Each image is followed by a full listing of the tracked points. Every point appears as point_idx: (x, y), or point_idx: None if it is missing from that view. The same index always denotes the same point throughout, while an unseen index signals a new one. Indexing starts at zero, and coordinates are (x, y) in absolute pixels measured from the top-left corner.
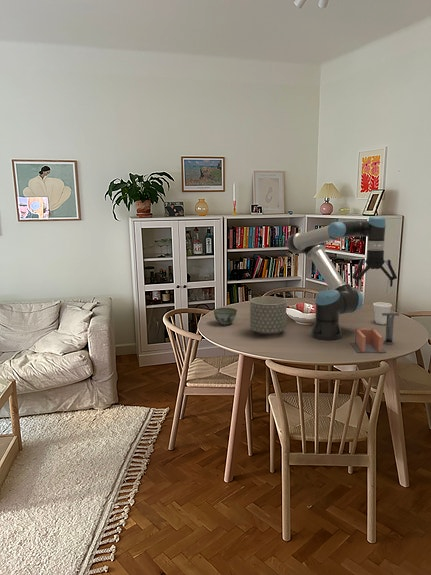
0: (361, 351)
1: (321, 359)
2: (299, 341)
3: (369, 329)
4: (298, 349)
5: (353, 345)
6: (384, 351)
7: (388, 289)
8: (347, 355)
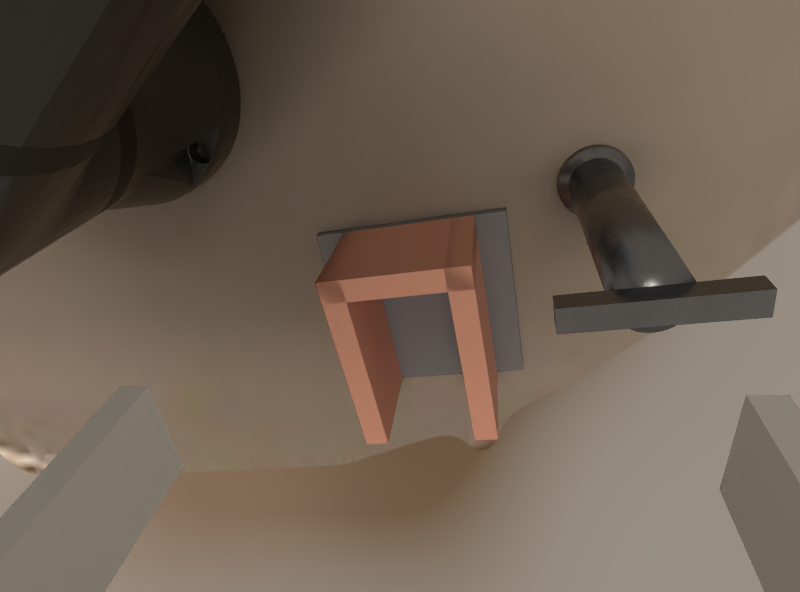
0: None
1: (212, 459)
2: None
3: (426, 289)
4: (74, 362)
5: None
6: (513, 366)
7: (765, 585)
8: (315, 413)
